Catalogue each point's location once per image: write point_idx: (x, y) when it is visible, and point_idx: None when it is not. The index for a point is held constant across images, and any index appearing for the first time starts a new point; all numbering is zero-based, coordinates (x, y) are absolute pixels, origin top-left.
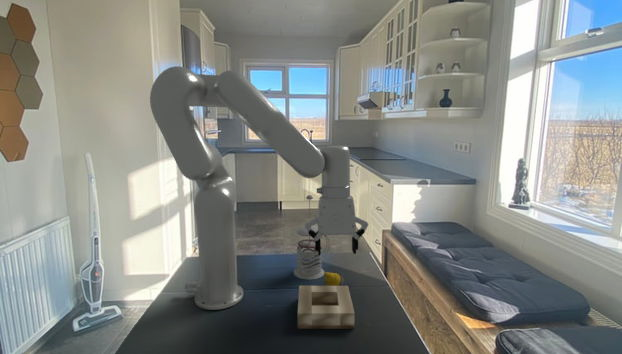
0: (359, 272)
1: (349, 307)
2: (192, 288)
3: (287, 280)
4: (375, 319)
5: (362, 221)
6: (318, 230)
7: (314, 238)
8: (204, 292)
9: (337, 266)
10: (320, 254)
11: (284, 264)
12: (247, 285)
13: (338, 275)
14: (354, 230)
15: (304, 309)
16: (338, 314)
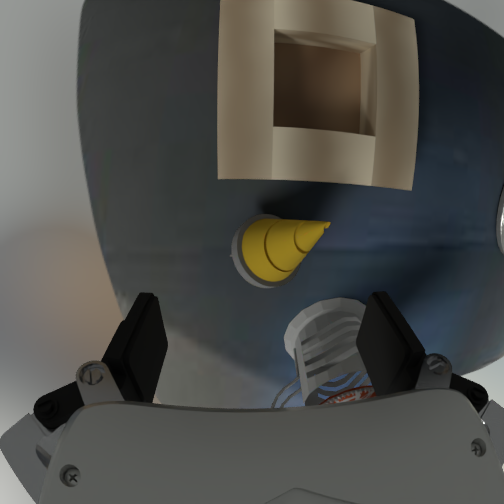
0: (175, 333)
1: (234, 17)
2: None
3: (400, 290)
4: (152, 58)
5: (23, 477)
6: (474, 412)
7: (449, 364)
8: None
9: (239, 365)
10: (299, 389)
11: None
12: (481, 261)
13: (250, 259)
14: (69, 424)
15: (397, 30)
16: None
